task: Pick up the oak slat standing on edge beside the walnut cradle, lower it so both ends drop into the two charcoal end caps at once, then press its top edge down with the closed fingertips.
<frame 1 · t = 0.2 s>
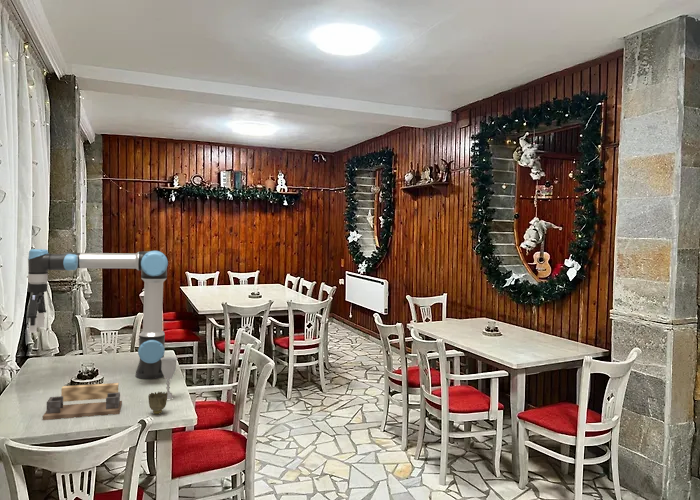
hand: (36, 329, 226), 28 cm above the table, tool pointing down, fingers open, 13 cm apart
cup: (157, 413, 204), on the table
cradle: (84, 411, 203), on the table
slat: (90, 399, 219), on the table
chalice: (167, 399, 222), on the table
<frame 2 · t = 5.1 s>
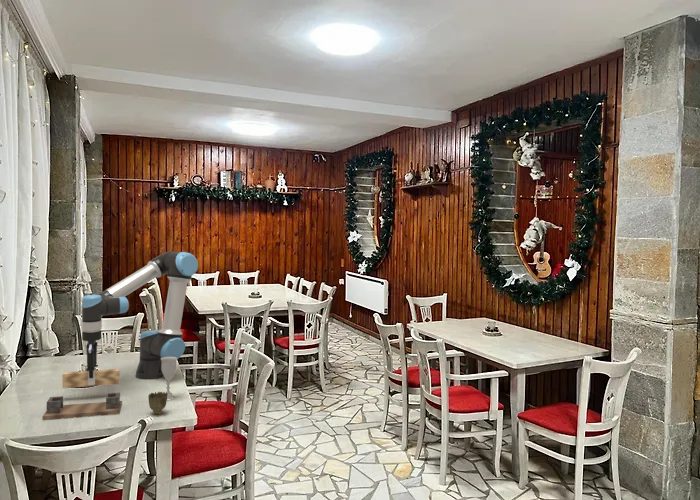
hand: (92, 383, 219), 7 cm above the table, tool pointing down, fingers closed on slat, 3 cm apart
slat: (91, 385, 219), point 6 cm above the table, touching gripper
everything else where it was.
when the fingers open (2 cm above the table, at t = 9.2 s): slat stays where it is, resting on cradle.
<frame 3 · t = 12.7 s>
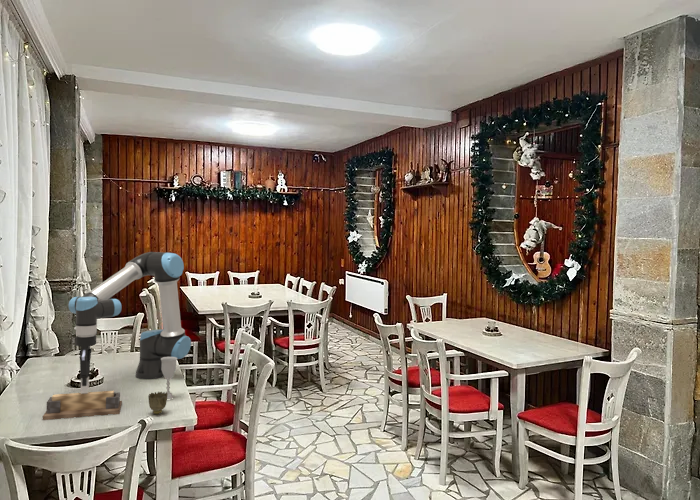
hand: (84, 392, 202), 8 cm above the table, tool pointing down, fingers closed
slat: (83, 408, 202), point 1 cm above the table, touching cradle, gripper
everything else where it was.
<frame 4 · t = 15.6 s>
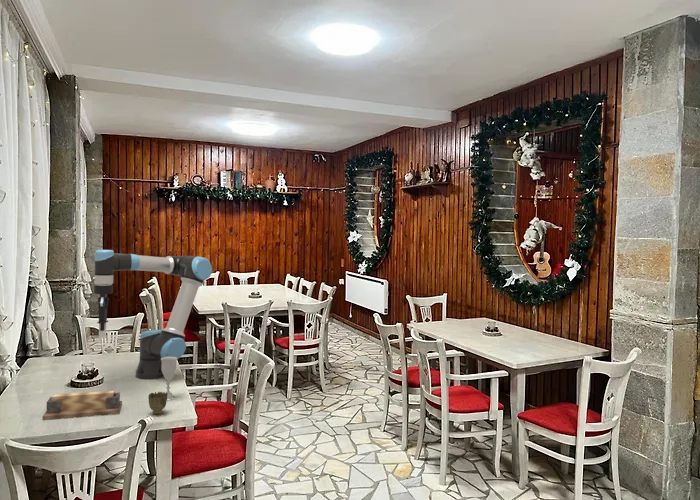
hand: (102, 337, 221), 26 cm above the table, tool pointing down, fingers closed
slat: (83, 408, 202), point 1 cm above the table, touching cradle
everything else where it was.
at the end: slat 0.3 cm off-centre on the cradle, point 1.5 cm above the cradle's base; slat tilted 0°; the gripper is holding nothing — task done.
